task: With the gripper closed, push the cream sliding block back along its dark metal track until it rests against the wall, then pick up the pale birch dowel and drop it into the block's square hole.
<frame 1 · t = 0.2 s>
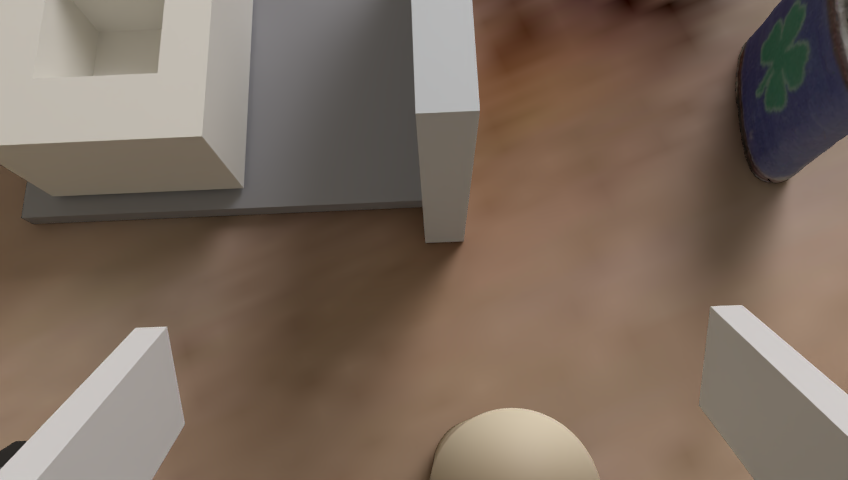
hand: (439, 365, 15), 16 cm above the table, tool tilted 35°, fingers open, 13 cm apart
backstop wall: (436, 89, 36), on the table
flask: (761, 109, 35), on the table
sliding block: (132, 59, 32), point 4 cm above the table, slide at 9.0 cm
dowel: (476, 464, 30), on the table
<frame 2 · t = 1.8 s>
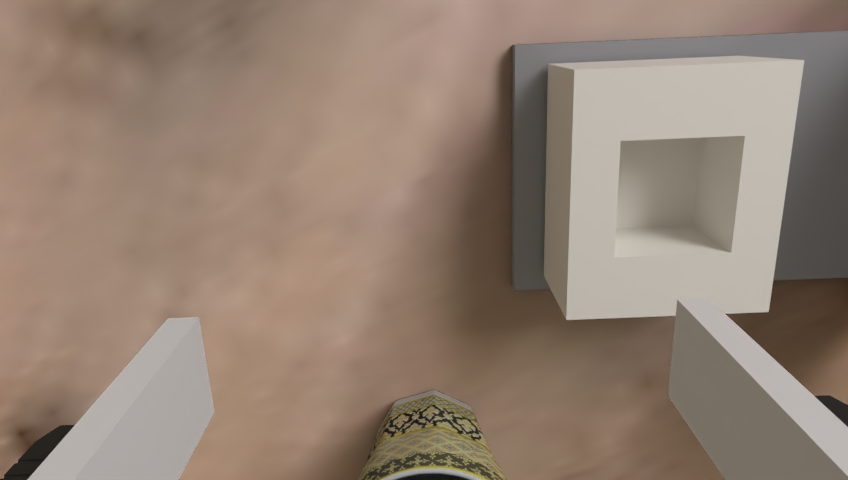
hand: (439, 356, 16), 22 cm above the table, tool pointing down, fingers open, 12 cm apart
sliding block: (654, 183, 32), point 4 cm above the table, slide at 9.0 cm
ceramic cup: (408, 437, 42), on the table
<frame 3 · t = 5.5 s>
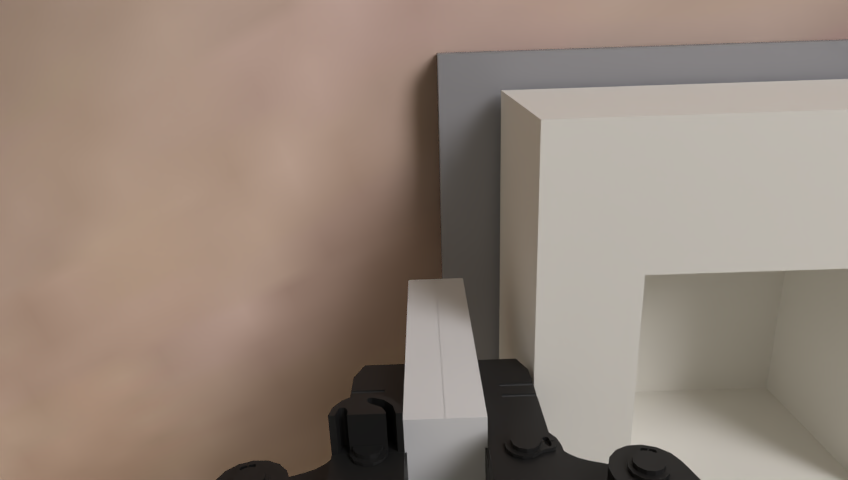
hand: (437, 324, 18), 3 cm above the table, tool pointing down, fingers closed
sliding block: (704, 328, 16), point 4 cm above the table, slide at 9.0 cm, touching gripper
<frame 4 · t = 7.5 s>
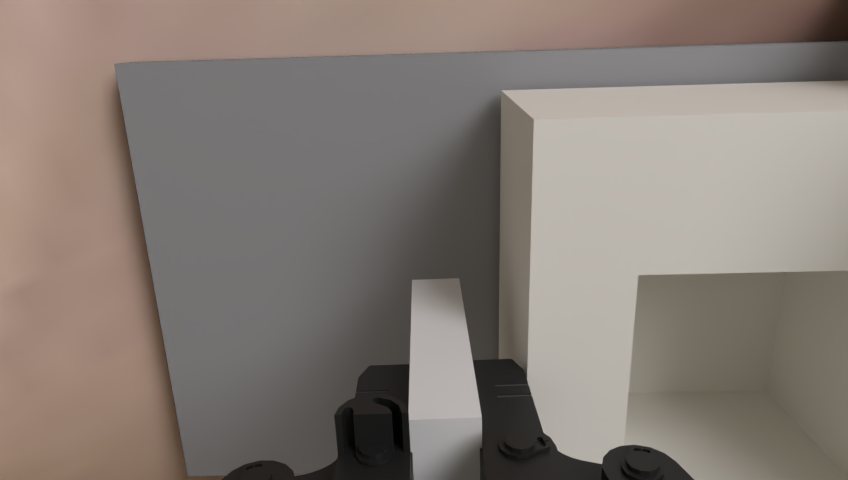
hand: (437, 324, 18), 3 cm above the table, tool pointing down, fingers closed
backstop wall: (839, 266, 20), on the table
sliding block: (702, 330, 16), point 4 cm above the table, slide at -0.2 cm, touching gripper
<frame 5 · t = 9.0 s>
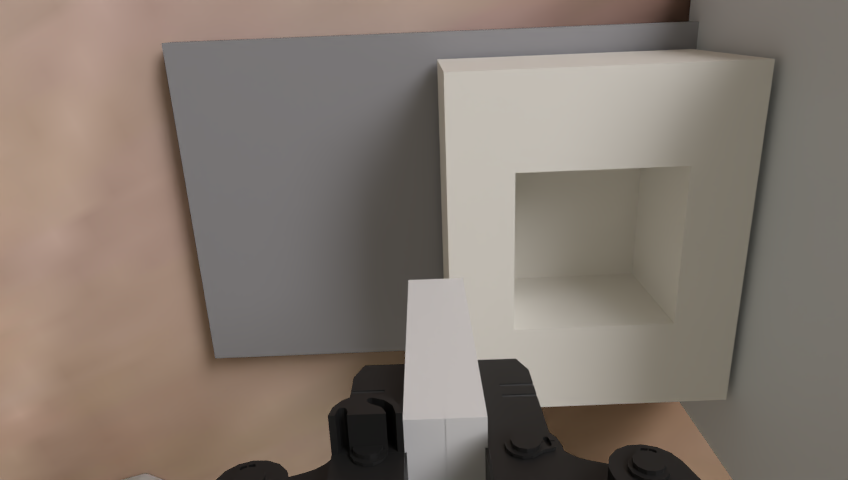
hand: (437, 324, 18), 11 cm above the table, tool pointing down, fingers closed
backstop wall: (694, 187, 28), on the table
sliding block: (576, 223, 24), point 4 cm above the table, slide at 0.0 cm
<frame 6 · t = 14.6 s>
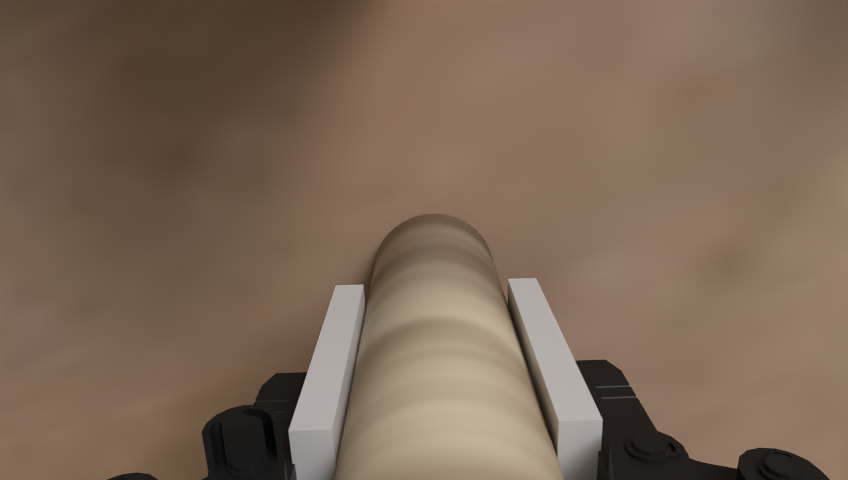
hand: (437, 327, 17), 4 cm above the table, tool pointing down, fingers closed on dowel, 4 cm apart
dowel: (433, 271, 21), on the table, touching gripper
when the fingers open (9 cm above the table, at t = 20.4 s): dowel drops 2 cm, resting on sliding block.
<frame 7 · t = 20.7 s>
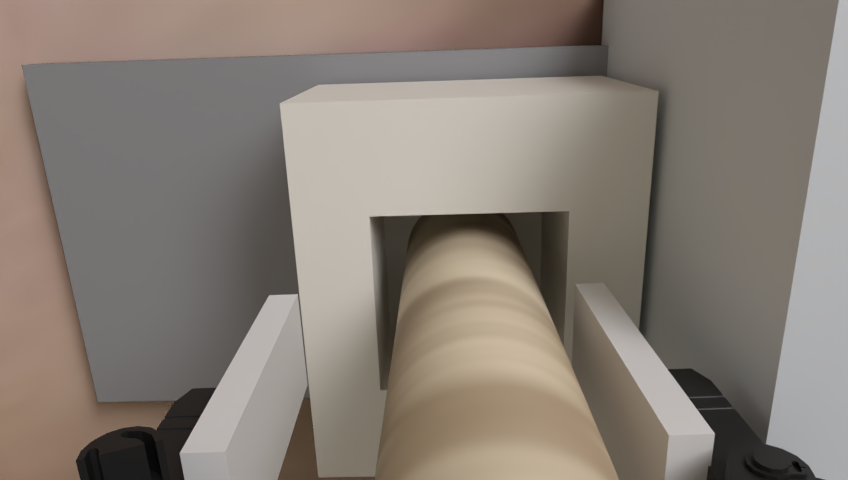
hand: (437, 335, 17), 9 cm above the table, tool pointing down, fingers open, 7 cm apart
backstop wall: (616, 226, 25), on the table
sliding block: (465, 268, 21), point 4 cm above the table, slide at 0.0 cm, touching dowel
dowel: (462, 251, 23), point 3 cm above the table, touching sliding block
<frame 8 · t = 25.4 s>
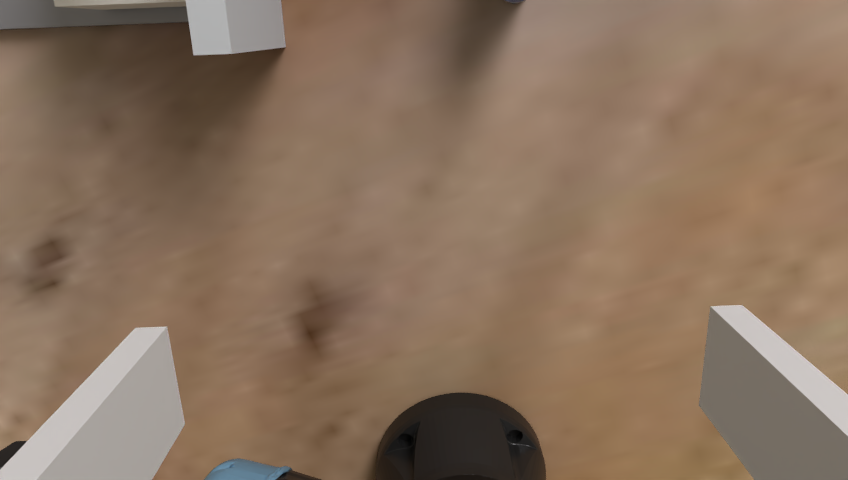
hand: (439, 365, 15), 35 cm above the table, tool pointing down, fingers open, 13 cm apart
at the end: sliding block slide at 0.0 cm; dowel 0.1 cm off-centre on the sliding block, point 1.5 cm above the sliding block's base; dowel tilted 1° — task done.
